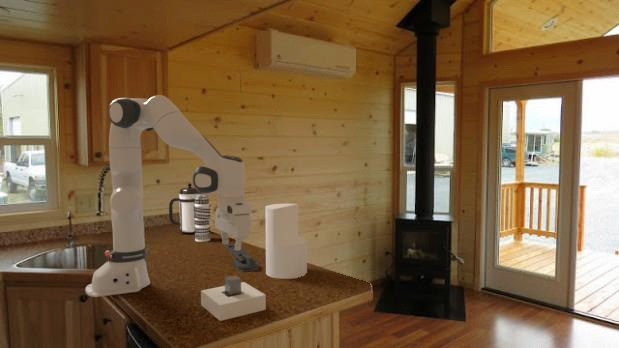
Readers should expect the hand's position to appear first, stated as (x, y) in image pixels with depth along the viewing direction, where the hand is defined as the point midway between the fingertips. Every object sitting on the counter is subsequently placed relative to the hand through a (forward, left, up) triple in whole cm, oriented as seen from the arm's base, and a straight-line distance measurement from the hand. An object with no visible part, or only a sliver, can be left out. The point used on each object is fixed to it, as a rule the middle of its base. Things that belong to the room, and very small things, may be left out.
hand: (231, 246), depth 145 cm
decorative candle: (+28, +101, -21) cm, 107 cm away
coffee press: (+28, +124, -21) cm, 129 cm away
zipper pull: (+25, +46, -21) cm, 57 cm away
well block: (0, 0, -21) cm, 21 cm away
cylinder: (+35, +23, -21) cm, 47 cm away
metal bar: (0, 0, -21) cm, 21 cm away
